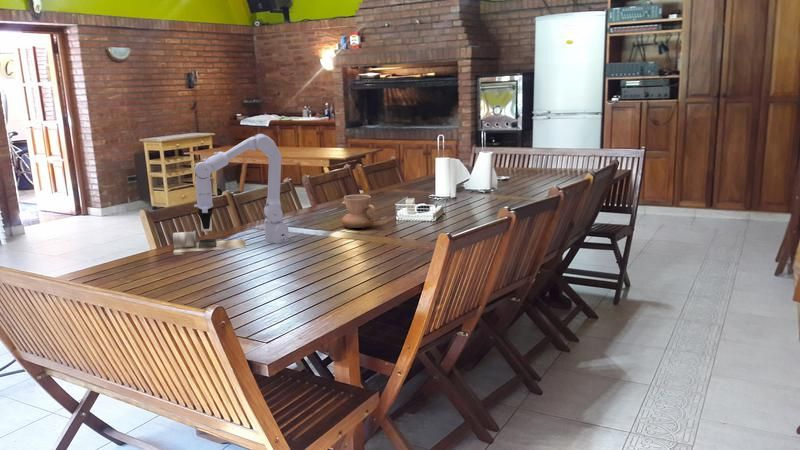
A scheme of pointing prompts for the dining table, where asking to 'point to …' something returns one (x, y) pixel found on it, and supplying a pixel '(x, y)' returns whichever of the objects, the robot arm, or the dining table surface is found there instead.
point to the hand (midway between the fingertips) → (206, 227)
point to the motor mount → (201, 243)
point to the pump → (207, 229)
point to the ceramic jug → (358, 211)
